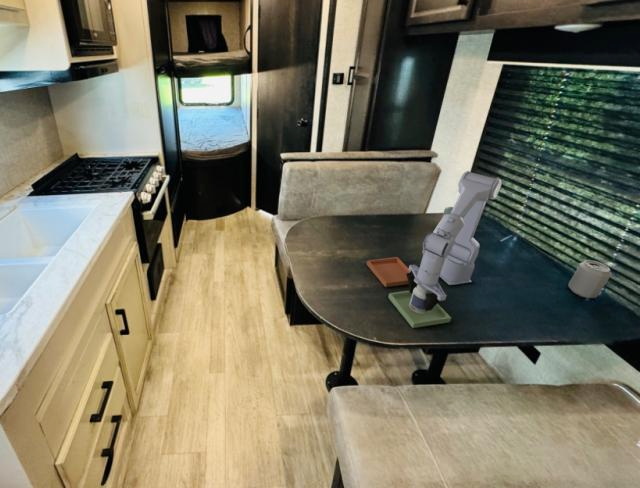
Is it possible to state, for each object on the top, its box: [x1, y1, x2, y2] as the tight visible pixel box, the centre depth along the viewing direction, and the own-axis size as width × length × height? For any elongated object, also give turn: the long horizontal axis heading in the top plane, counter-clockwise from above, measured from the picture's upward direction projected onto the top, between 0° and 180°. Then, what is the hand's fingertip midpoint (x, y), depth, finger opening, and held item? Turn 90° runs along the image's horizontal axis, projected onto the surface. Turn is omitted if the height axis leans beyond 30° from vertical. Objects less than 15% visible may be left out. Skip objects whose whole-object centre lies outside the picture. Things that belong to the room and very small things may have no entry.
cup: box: [441, 206, 454, 219], centre depth 148 cm, size 8×8×10 cm
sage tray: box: [388, 290, 452, 329], centre depth 105 cm, size 13×13×2 cm
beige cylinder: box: [567, 259, 612, 299], centre depth 109 cm, size 8×8×12 cm
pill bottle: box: [409, 284, 432, 314], centre depth 103 cm, size 5×5×10 cm
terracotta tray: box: [366, 256, 411, 288], centre depth 121 cm, size 13×13×2 cm
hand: (420, 300), depth 104 cm, fingers open, 7 cm apart
